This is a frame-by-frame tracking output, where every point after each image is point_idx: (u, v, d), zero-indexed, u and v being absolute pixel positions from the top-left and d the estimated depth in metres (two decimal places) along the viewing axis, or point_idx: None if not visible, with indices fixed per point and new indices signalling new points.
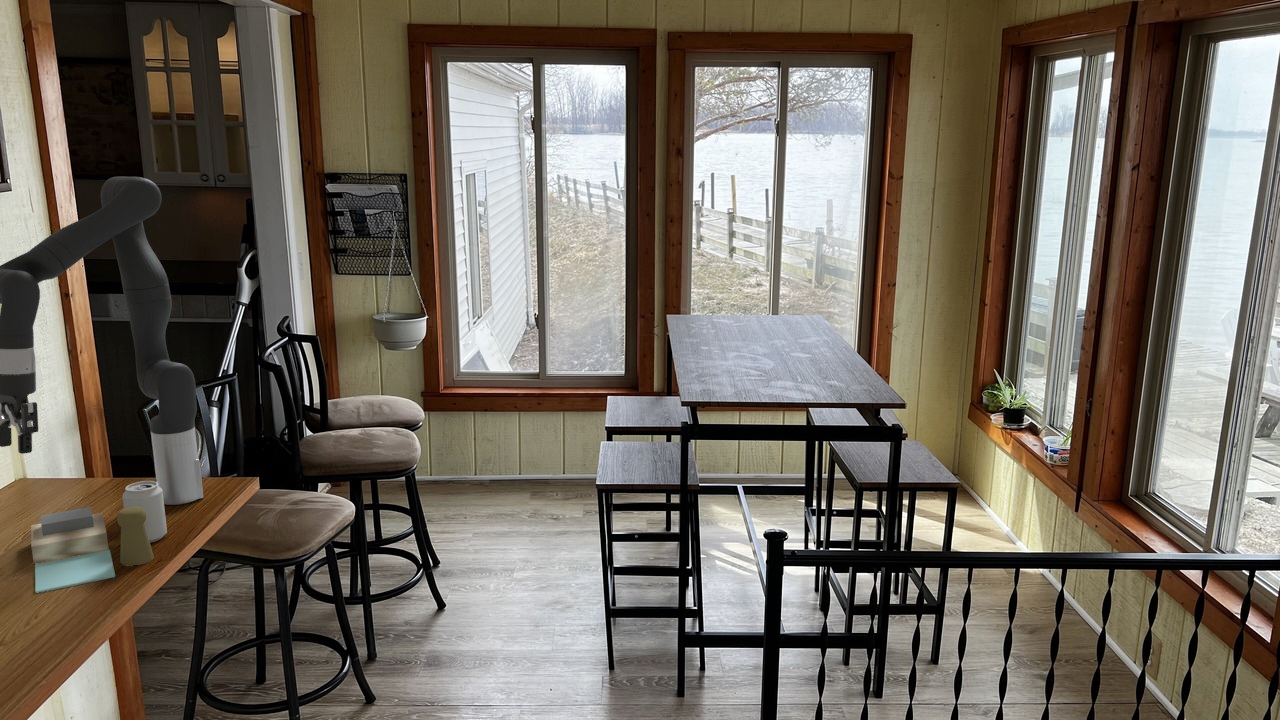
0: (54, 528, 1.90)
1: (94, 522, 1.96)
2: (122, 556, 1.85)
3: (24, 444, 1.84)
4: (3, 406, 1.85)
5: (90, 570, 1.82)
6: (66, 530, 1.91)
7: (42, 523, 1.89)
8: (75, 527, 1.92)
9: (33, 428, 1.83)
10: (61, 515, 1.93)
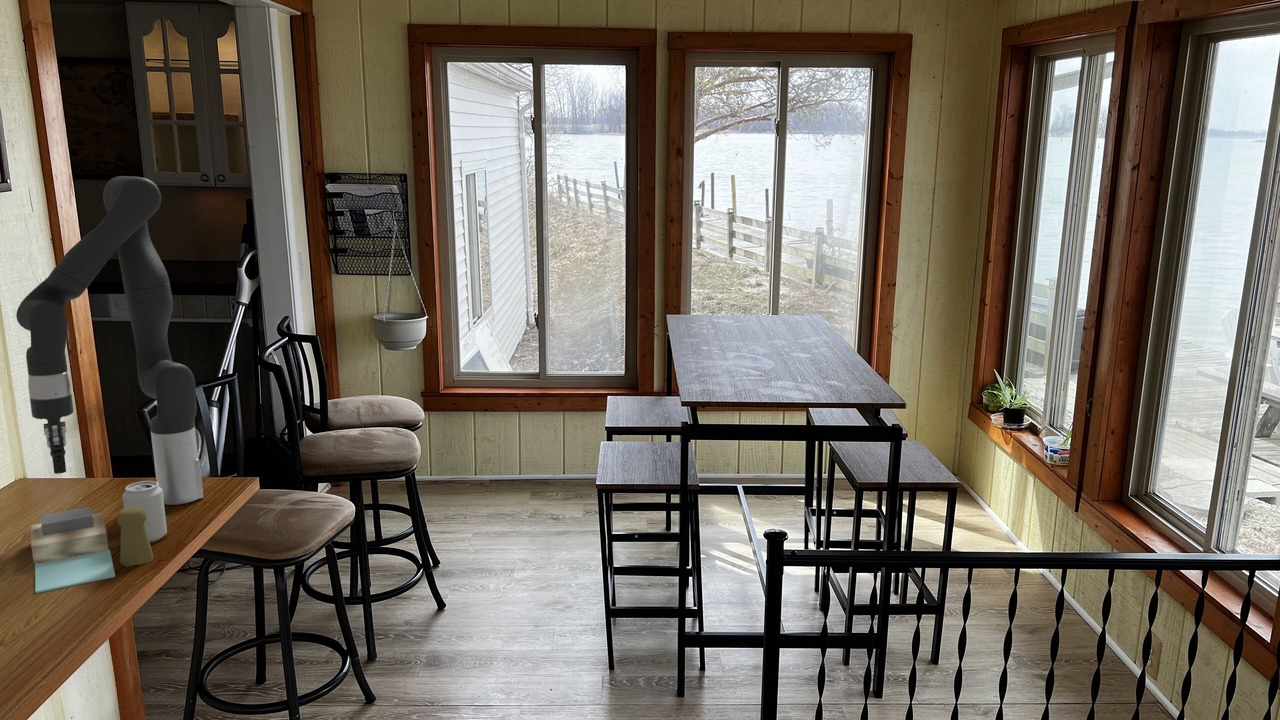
0: (54, 528, 1.90)
1: (94, 522, 1.96)
2: (122, 556, 1.85)
3: (56, 465, 1.97)
4: (45, 425, 1.96)
5: (90, 570, 1.82)
6: (66, 530, 1.91)
7: (42, 523, 1.89)
8: (75, 527, 1.92)
9: (59, 451, 1.95)
10: (61, 515, 1.93)
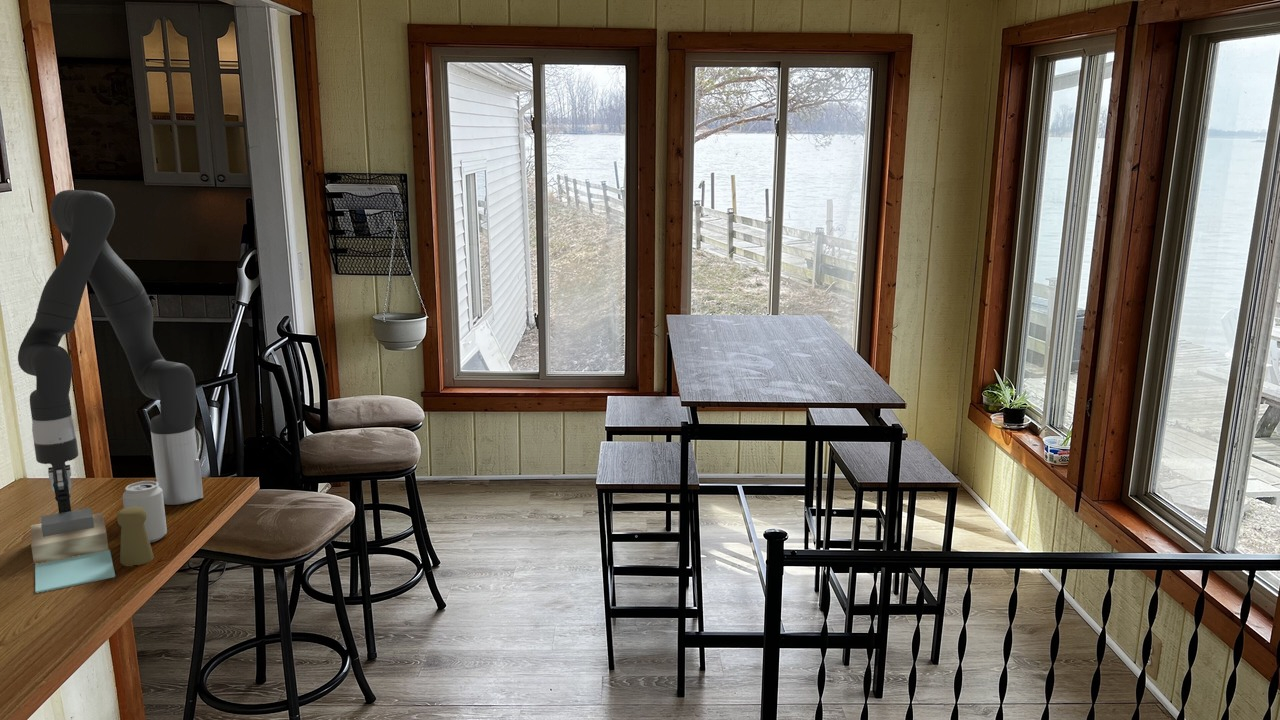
0: (54, 529, 1.90)
1: (94, 522, 1.96)
2: (122, 556, 1.85)
3: (61, 509, 1.95)
4: (50, 469, 1.94)
5: (90, 570, 1.82)
6: (66, 531, 1.91)
7: (42, 524, 1.89)
8: (75, 528, 1.92)
9: (64, 496, 1.93)
10: (62, 516, 1.93)
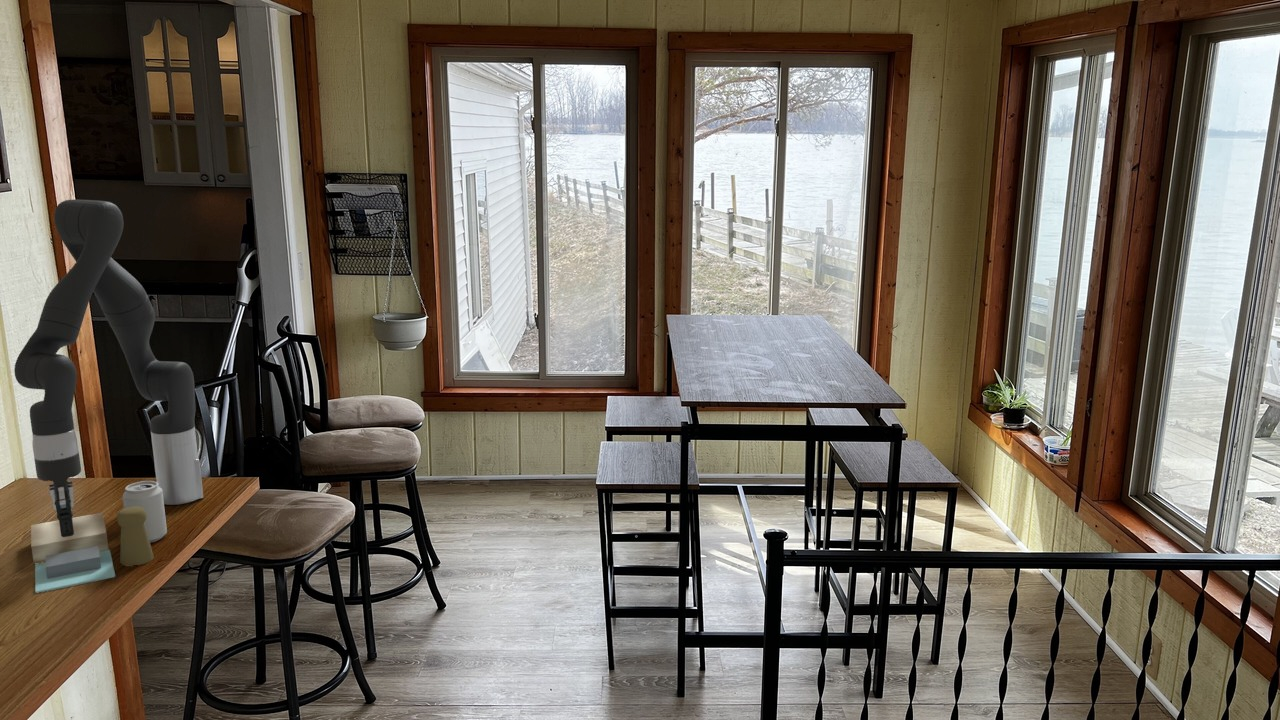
0: None
1: (94, 522, 1.96)
2: (122, 556, 1.85)
3: (63, 528, 1.85)
4: (51, 486, 1.84)
5: (90, 570, 1.82)
6: None
7: None
8: None
9: (66, 514, 1.83)
10: None
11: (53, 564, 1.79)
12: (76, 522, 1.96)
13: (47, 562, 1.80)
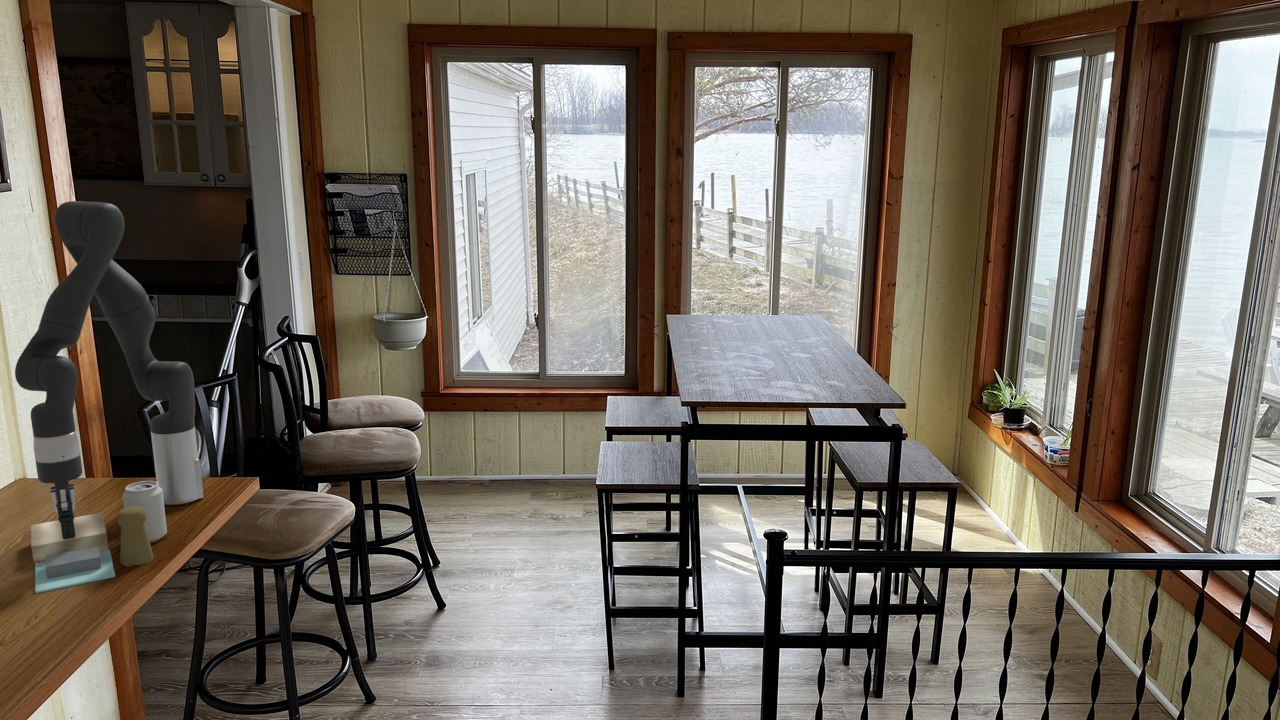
0: None
1: (94, 522, 1.96)
2: (122, 556, 1.85)
3: (64, 531, 1.84)
4: (52, 488, 1.83)
5: (90, 570, 1.82)
6: None
7: None
8: None
9: (68, 517, 1.82)
10: None
11: (53, 564, 1.79)
12: (76, 522, 1.96)
13: (47, 562, 1.80)
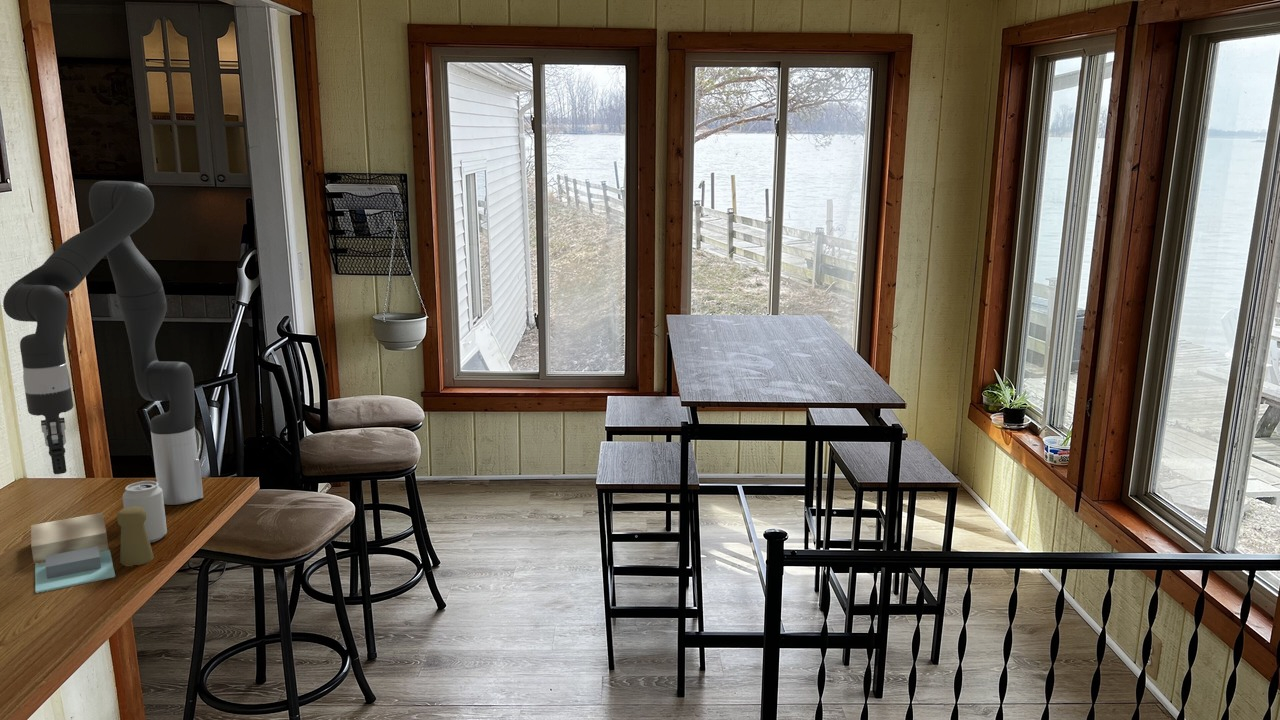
0: None
1: (94, 522, 1.96)
2: (122, 556, 1.85)
3: (55, 465, 1.81)
4: (43, 422, 1.81)
5: (90, 570, 1.82)
6: None
7: None
8: None
9: (59, 450, 1.79)
10: None
11: (53, 564, 1.79)
12: (76, 522, 1.96)
13: (47, 562, 1.80)
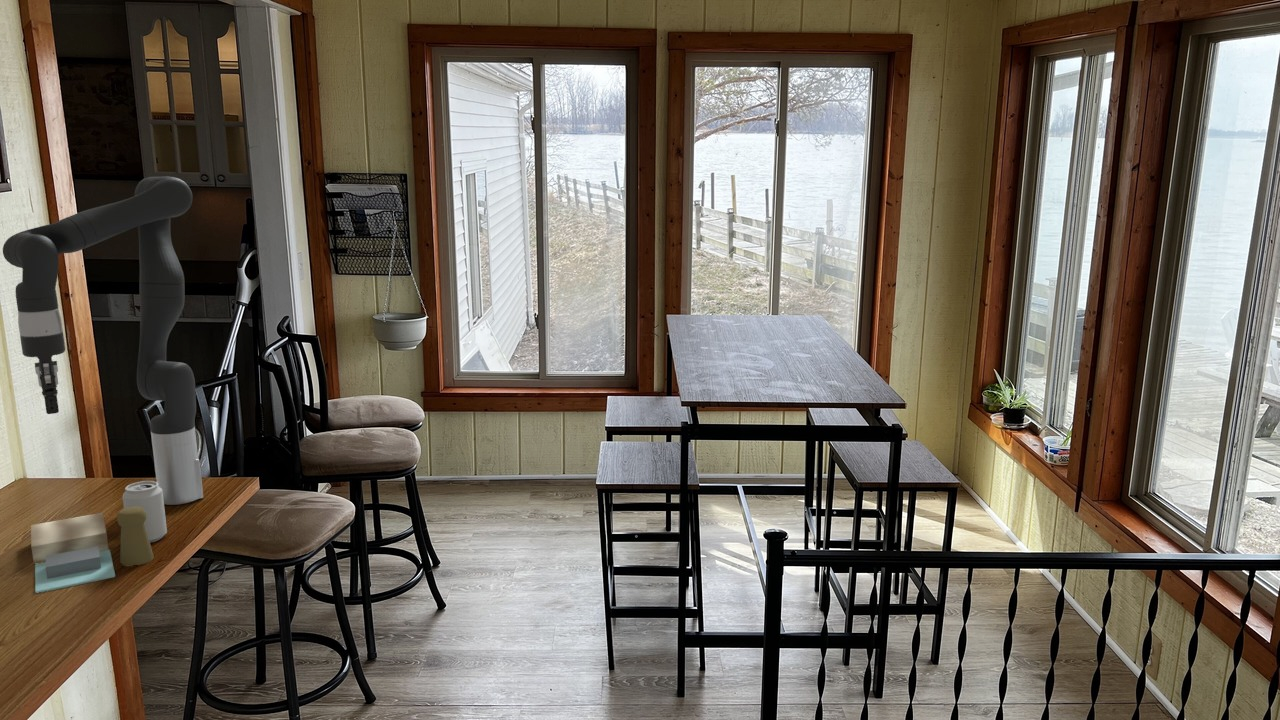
0: None
1: (94, 522, 1.96)
2: (122, 556, 1.85)
3: (48, 405, 1.93)
4: (36, 364, 1.92)
5: (90, 570, 1.82)
6: None
7: None
8: None
9: (51, 391, 1.91)
10: None
11: (53, 564, 1.79)
12: (76, 522, 1.96)
13: (47, 562, 1.80)
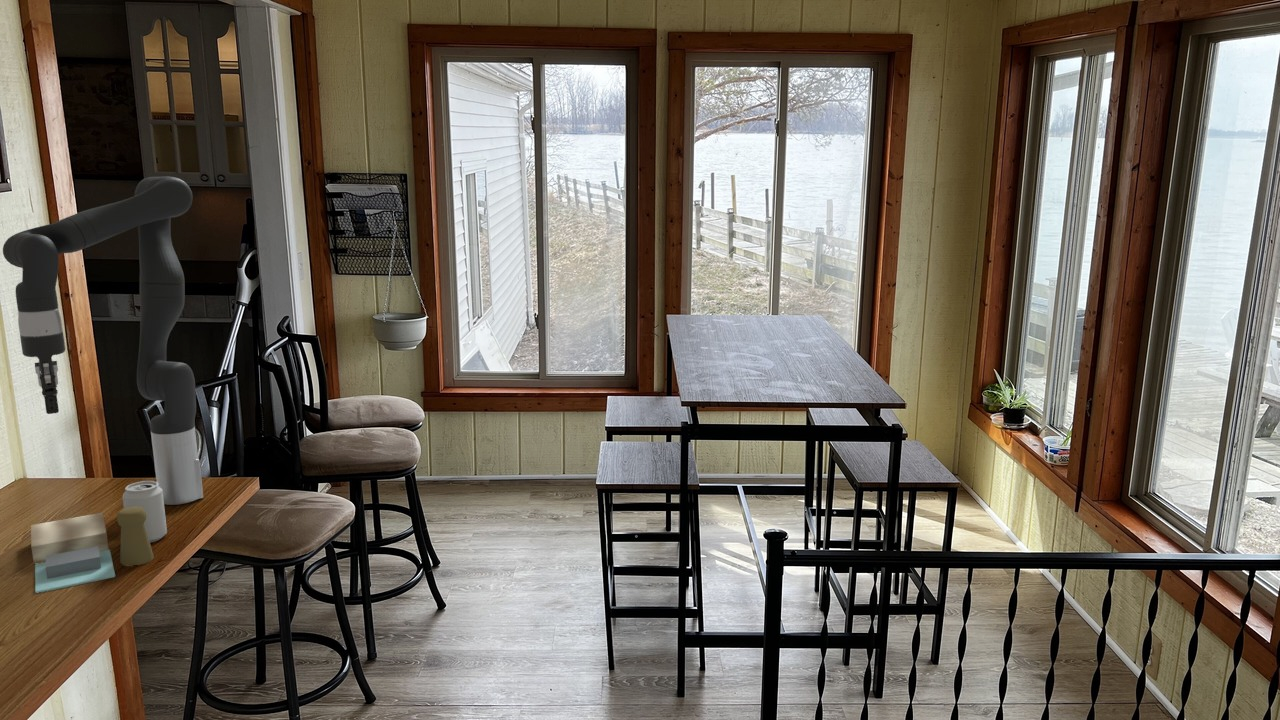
0: None
1: (94, 522, 1.96)
2: (122, 556, 1.85)
3: (48, 405, 1.93)
4: (36, 364, 1.92)
5: (90, 570, 1.82)
6: None
7: None
8: None
9: (51, 390, 1.91)
10: None
11: (53, 564, 1.79)
12: (76, 522, 1.96)
13: (47, 562, 1.80)
